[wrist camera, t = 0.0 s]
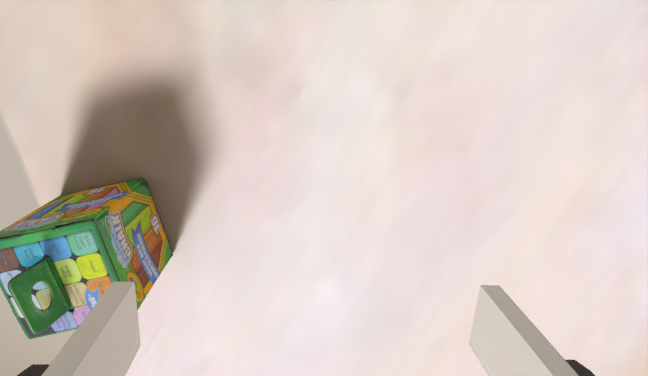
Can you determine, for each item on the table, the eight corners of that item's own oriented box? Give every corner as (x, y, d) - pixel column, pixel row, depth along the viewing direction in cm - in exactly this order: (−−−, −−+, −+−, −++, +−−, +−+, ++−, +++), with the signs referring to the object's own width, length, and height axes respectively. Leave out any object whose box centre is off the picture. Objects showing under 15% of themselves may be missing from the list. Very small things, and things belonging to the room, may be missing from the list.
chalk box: (174, 254, 45) (123, 347, 31) (90, 272, 45) (1, 373, 31) (146, 174, 42) (75, 236, 28) (56, 193, 42) (-60, 265, 28)
